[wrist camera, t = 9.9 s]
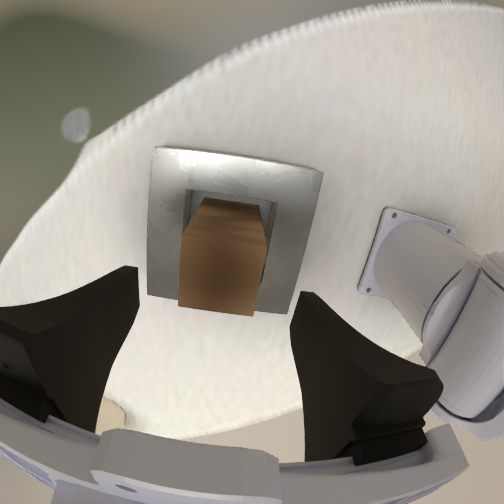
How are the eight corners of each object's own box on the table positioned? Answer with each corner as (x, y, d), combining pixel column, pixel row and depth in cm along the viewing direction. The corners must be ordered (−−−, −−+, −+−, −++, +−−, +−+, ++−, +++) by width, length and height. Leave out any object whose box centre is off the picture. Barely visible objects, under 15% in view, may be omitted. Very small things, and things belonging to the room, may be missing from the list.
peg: (258, 205, 20) (267, 247, 13) (249, 254, 22) (252, 316, 14) (204, 197, 20) (181, 235, 12) (199, 247, 21) (178, 306, 14)
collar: (313, 168, 19) (323, 172, 17) (283, 297, 23) (286, 314, 21) (164, 145, 18) (153, 147, 16) (155, 279, 22) (147, 294, 20)
